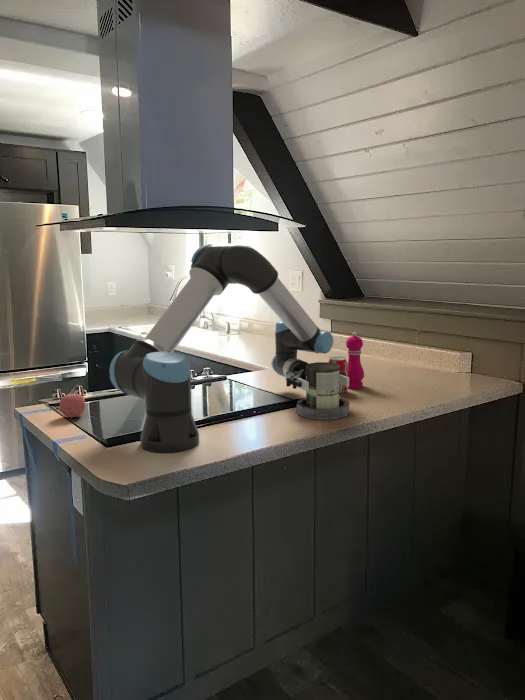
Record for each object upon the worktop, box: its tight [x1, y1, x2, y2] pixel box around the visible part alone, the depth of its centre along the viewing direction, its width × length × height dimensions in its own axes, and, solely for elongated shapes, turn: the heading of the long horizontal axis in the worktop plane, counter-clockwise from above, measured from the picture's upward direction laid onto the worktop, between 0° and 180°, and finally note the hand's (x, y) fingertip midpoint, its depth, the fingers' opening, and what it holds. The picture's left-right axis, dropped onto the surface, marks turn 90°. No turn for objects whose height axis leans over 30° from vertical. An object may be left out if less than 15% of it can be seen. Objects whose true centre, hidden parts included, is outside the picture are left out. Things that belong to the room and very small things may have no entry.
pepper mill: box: [345, 331, 365, 390], centre depth 207 cm, size 7×7×20 cm
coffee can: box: [305, 361, 340, 409], centre depth 176 cm, size 10×10×14 cm
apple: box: [59, 392, 86, 419], centre depth 175 cm, size 7×7×8 cm
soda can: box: [327, 356, 348, 394], centre depth 201 cm, size 7×7×12 cm
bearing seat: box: [296, 397, 350, 421], centre depth 177 cm, size 16×16×3 cm
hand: (328, 384), depth 172 cm, fingers open, 13 cm apart
